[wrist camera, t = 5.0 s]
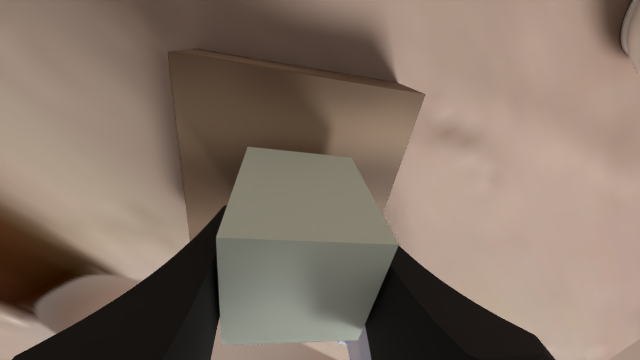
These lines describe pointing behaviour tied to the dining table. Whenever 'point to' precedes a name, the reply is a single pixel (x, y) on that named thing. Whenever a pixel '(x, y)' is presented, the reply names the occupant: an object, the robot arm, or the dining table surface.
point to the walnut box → (281, 122)
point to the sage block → (299, 250)
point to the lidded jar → (632, 34)
